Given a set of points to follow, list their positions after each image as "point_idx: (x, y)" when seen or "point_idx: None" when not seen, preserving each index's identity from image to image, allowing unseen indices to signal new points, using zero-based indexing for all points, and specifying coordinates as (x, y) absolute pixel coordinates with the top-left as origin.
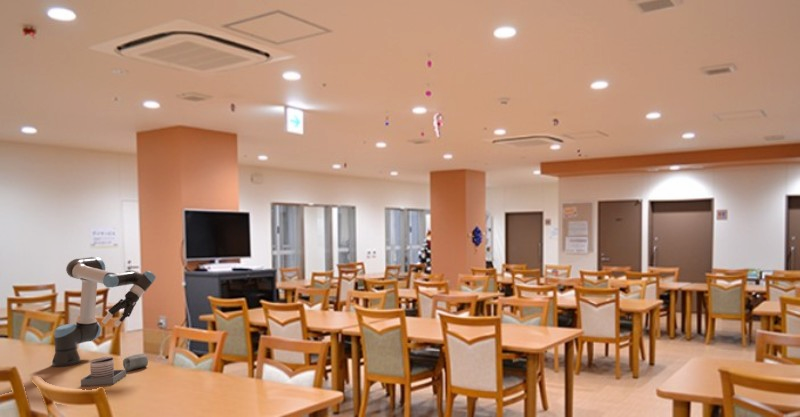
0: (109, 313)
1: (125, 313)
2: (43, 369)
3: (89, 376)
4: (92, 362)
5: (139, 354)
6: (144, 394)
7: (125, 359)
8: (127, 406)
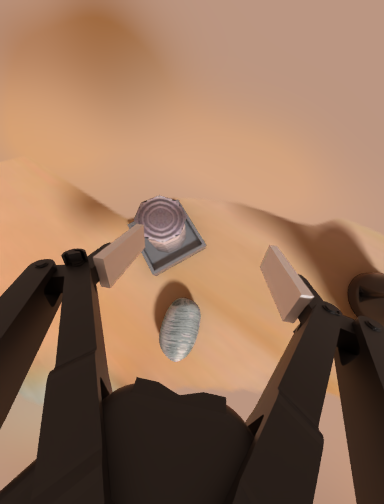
0: (295, 290)
1: (51, 266)
2: (364, 253)
3: (188, 222)
4: (163, 198)
5: (173, 340)
6: (36, 210)
7: (184, 302)
8: (24, 168)
